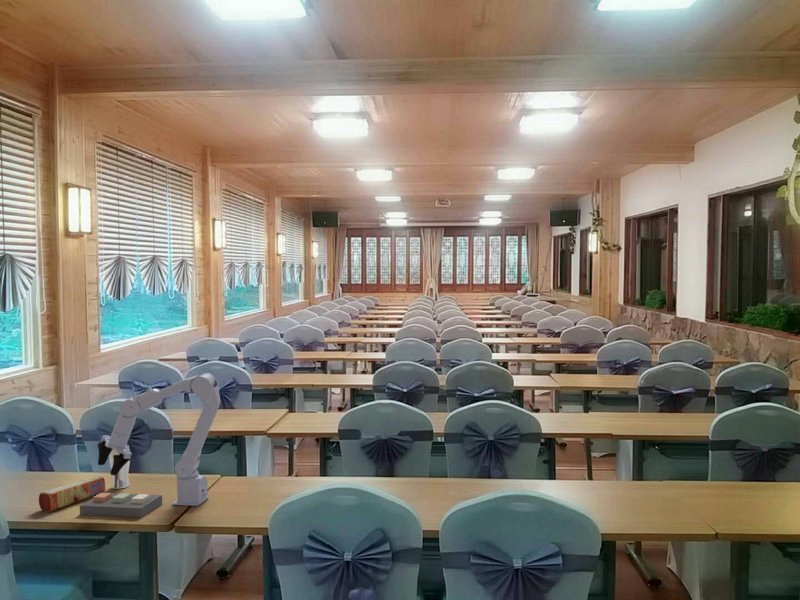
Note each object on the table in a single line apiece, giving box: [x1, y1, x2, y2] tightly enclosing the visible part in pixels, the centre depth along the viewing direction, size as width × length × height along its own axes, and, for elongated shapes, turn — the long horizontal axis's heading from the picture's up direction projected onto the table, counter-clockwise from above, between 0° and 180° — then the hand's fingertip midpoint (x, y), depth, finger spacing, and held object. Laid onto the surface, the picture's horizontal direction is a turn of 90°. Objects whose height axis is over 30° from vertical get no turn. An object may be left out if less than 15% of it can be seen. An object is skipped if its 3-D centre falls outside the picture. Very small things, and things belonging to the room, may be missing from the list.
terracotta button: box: [92, 492, 113, 502], centre depth 200 cm, size 4×4×3 cm
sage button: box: [112, 493, 132, 503], centre depth 199 cm, size 4×4×3 cm
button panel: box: [79, 492, 163, 518], centre depth 199 cm, size 22×12×3 cm, turn 80°
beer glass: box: [108, 443, 131, 490], centre depth 222 cm, size 7×7×15 cm
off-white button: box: [131, 493, 151, 504], centre depth 198 cm, size 4×4×3 cm
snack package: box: [38, 475, 106, 513], centre depth 208 cm, size 21×7×7 cm, turn 153°
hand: (107, 469), depth 202 cm, fingers open, 7 cm apart
